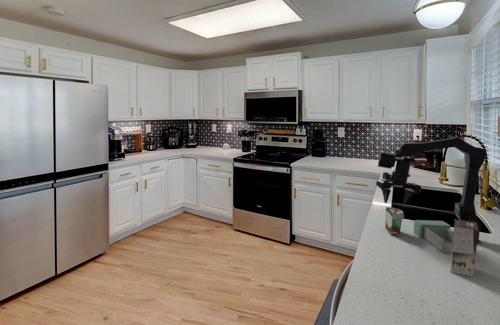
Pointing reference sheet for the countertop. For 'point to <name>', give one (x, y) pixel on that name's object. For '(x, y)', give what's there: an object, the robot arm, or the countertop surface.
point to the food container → (393, 220)
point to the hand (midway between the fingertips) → (394, 203)
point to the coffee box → (464, 247)
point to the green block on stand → (435, 234)
